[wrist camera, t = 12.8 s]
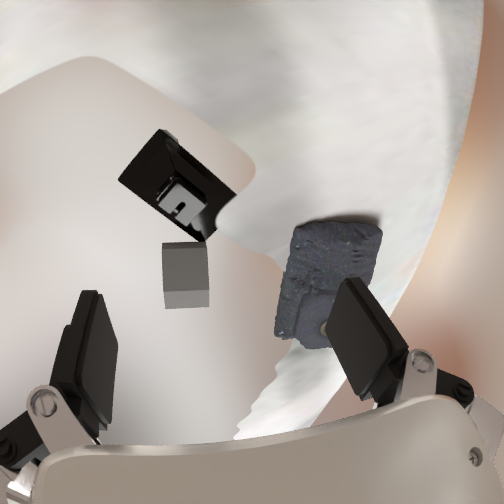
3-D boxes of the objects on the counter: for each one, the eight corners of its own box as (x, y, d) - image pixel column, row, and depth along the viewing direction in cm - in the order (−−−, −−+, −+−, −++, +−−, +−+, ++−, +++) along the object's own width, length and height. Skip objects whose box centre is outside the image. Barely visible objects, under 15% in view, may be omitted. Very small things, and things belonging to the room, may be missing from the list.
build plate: (117, 179, 28) (108, 193, 24) (161, 125, 26) (158, 131, 22) (201, 243, 34) (205, 265, 30) (245, 199, 33) (255, 216, 29)
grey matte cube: (205, 240, 34) (209, 262, 30) (204, 283, 37) (209, 307, 33) (162, 241, 32) (160, 264, 29) (165, 284, 35) (165, 309, 32)
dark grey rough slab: (388, 216, 38) (408, 232, 34) (351, 327, 50) (362, 346, 46) (289, 217, 35) (304, 236, 31) (270, 341, 46) (279, 364, 42)
